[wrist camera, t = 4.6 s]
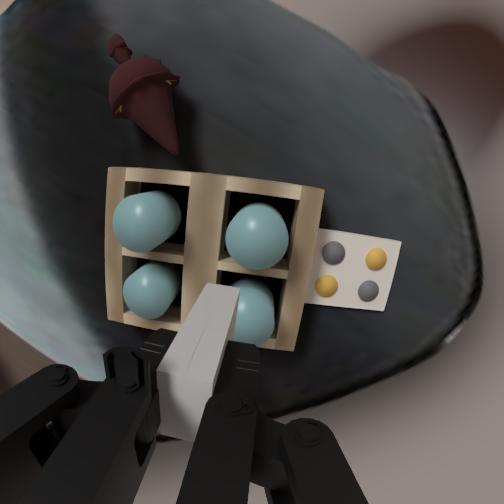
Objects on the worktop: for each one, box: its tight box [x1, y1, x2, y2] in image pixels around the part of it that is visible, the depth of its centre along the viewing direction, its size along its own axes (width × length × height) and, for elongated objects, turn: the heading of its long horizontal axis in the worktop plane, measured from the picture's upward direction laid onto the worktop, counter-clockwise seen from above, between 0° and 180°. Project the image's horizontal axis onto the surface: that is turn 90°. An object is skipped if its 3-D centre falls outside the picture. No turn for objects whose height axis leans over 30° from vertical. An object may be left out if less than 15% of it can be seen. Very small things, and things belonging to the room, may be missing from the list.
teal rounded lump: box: [123, 260, 182, 319], centre depth 29 cm, size 5×5×5 cm
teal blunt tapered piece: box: [225, 202, 289, 270], centre depth 25 cm, size 5×5×5 cm
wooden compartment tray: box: [105, 167, 324, 351], centre depth 29 cm, size 20×16×4 cm
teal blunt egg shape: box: [113, 191, 181, 253], centre depth 26 cm, size 5×5×5 cm
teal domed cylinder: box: [231, 278, 275, 346], centre depth 27 cm, size 5×5×5 cm
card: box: [304, 228, 401, 311], centre depth 31 cm, size 10×8×1 cm
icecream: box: [107, 34, 180, 156], centre depth 24 cm, size 7×7×15 cm
